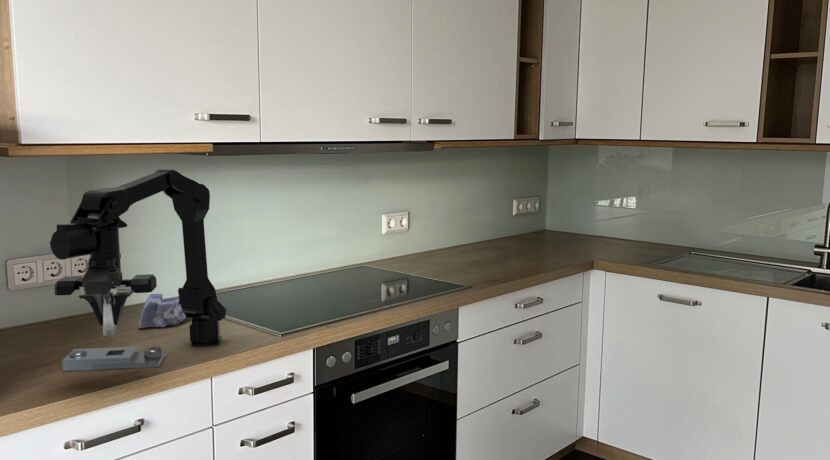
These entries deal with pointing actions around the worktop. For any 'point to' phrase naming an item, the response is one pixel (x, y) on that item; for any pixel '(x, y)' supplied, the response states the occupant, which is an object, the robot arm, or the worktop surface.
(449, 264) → the worktop surface
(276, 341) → the worktop surface
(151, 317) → the mineral
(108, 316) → the pin
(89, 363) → the grey bolted bracket plate
